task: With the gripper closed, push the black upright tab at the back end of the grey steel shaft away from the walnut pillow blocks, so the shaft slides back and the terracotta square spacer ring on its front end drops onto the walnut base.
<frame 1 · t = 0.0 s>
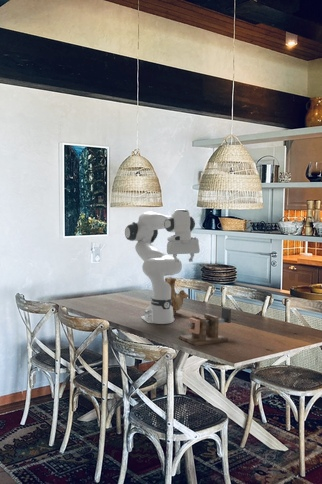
hand: (183, 262, 294), 39 cm above the table, fingers open, 8 cm apart
tan plush toy: (171, 314, 339), on the table
spacer: (194, 325, 273), point 8 cm above the table, touching shaft
shaft: (208, 317, 277), point 12 cm above the table, slide at 0.0 cm, touching spacer
stand: (204, 339, 277), on the table
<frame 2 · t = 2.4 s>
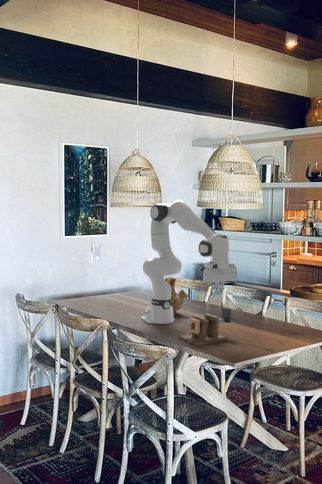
hand: (219, 290, 280), 26 cm above the table, fingers closed
nothing on the table moved.
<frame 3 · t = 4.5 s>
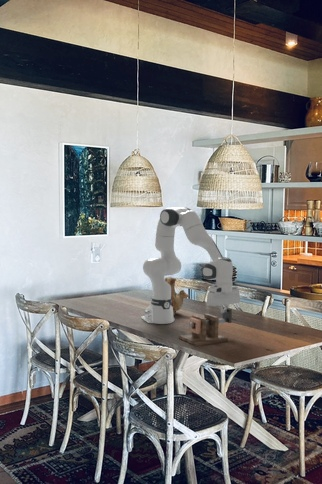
hand: (223, 312, 282), 13 cm above the table, fingers closed
shaft: (209, 317, 278), point 12 cm above the table, slide at 0.6 cm, touching gripper, spacer
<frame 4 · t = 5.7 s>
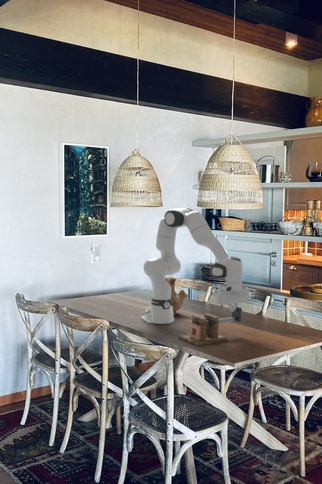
hand: (233, 311, 285), 13 cm above the table, fingers closed
spacer: (195, 331, 273), point 5 cm above the table, touching stand
shaft: (219, 315, 281), point 12 cm above the table, slide at 7.1 cm, touching gripper
everything else where it was.
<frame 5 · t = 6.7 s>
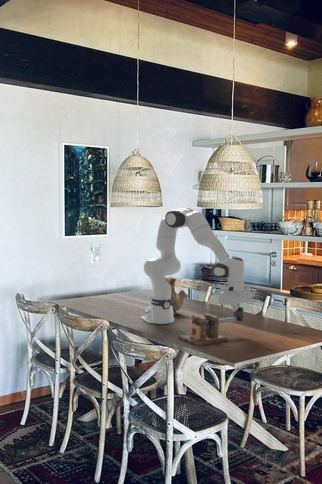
hand: (235, 311, 286), 13 cm above the table, fingers closed
shaft: (221, 315, 282), point 12 cm above the table, slide at 8.5 cm, touching gripper
everything else where it was.
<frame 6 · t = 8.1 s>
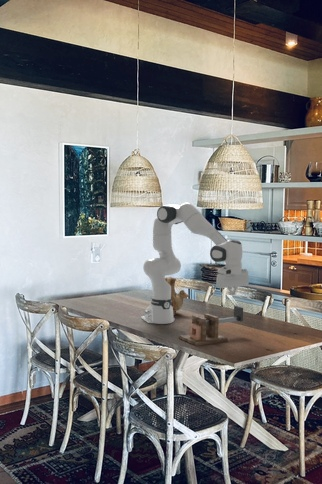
hand: (232, 294, 285), 23 cm above the table, fingers closed
shaft: (221, 315, 282), point 12 cm above the table, slide at 8.5 cm
everything else where it was.
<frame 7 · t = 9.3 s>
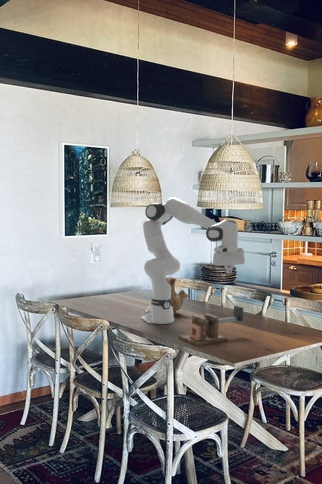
hand: (228, 272, 295), 33 cm above the table, fingers closed
nothing on the table moved.
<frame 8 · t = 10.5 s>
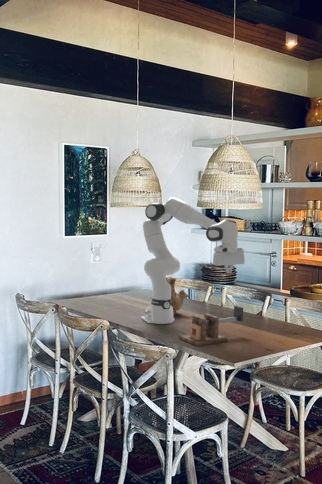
hand: (228, 272, 295), 33 cm above the table, fingers closed
nothing on the table moved.
at the end: shaft slide at 8.5 cm; spacer point 5.0 cm above the table; spacer touching stand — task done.
